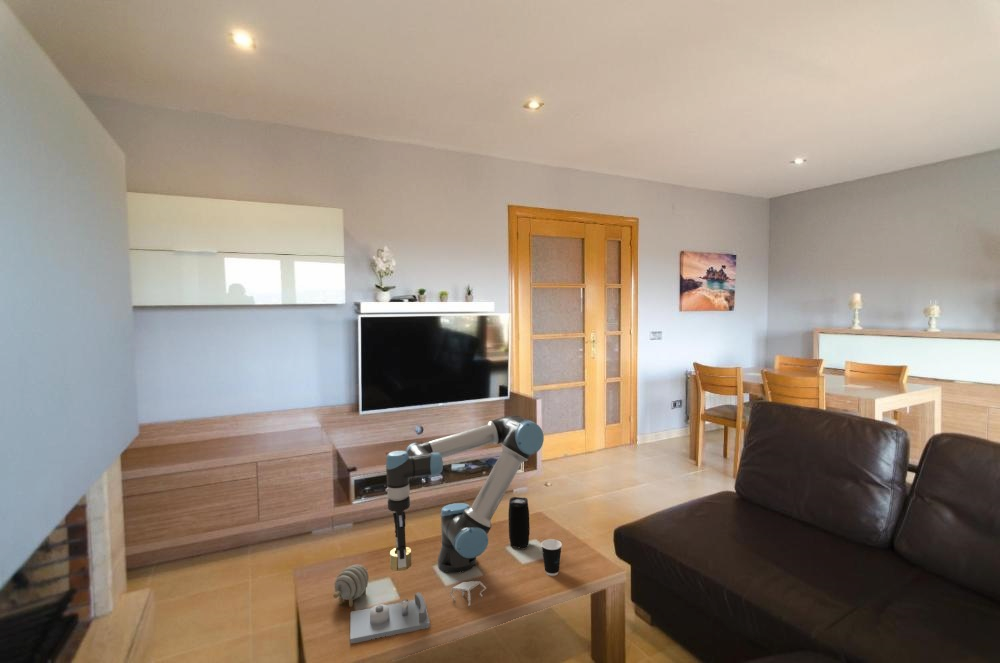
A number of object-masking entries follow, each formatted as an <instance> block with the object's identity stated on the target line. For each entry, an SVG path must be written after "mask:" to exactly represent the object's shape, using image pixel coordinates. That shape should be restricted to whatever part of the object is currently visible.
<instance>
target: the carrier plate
mask: <svg viewBox="0 0 1000 663" xmlns="http://www.w3.org/2000/svg"><path fill="white" fill-rule="evenodd" d="M349 622H350V624H349V625H350V628H349V631H350V633H349V641H350V643H349V644H352V643H353V644H357V643H362V642H366V641H371V639H372V640H376V639H375V638H377V639H381V638H380V637H382V638H386V637H391V636H395V635H396V634H397V635H401V634H405V633H411V632H416V631H421V630H425V628H426V629H430V627H431V622H430V617H429V614H428V610H427V605H426V600H425V598H424V596H423V595H422V594H421V592H419V591H418V592H416V593H414V599H413V600H412V599H411V600H408V615H407V616H402V601H401V602H397V603H396V602H395V603H391V604H381V603H380V604H376V605H374V606H372V607H370V608H365V609H364V608H363V609H359V610H354V611H353V610H352V611H350V621H349ZM420 629H421V630H420ZM385 636H386V637H385Z"/></svg>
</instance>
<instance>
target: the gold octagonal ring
mask: <svg viewBox="0 0 1000 663" xmlns="http://www.w3.org/2000/svg"><path fill="white" fill-rule="evenodd" d="M396 548H397V547H396V546H395V547H394V548H393V549H391V550H390V552H389V557H390V559H389V560H390V564H389V565H390V569H391V570H393V571H395V572H401V571H406V570H408V569H410V568H411V567H412V549H411V548H410V547H408V546H406V567H402V568H398V553H397V550H396Z"/></svg>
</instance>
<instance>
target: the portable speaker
mask: <svg viewBox="0 0 1000 663" xmlns="http://www.w3.org/2000/svg"><path fill="white" fill-rule="evenodd" d="M530 531H531V530H530V509H529V503H528V498H527V497H519V496H513V497H510V498H509V501H508V538H509V542H510V547H511V548H514V547H515V548H518V549H520V550H524V549H526V548H529V544H530V543H529V542H530Z"/></svg>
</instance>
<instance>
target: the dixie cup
mask: <svg viewBox="0 0 1000 663" xmlns="http://www.w3.org/2000/svg"><path fill="white" fill-rule="evenodd" d="M540 546H541V550H542V558H543V567H544V571H545V574H546V575H548V576H551V577H555V576H557V575H558V574H559V572H560V566H561V565H560V564H561V554H562V553H561V551H562V546H563V543H562V542H561V541H559V540H557V539H553V538H548V539H545V540H543V541H541V543H540Z"/></svg>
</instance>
